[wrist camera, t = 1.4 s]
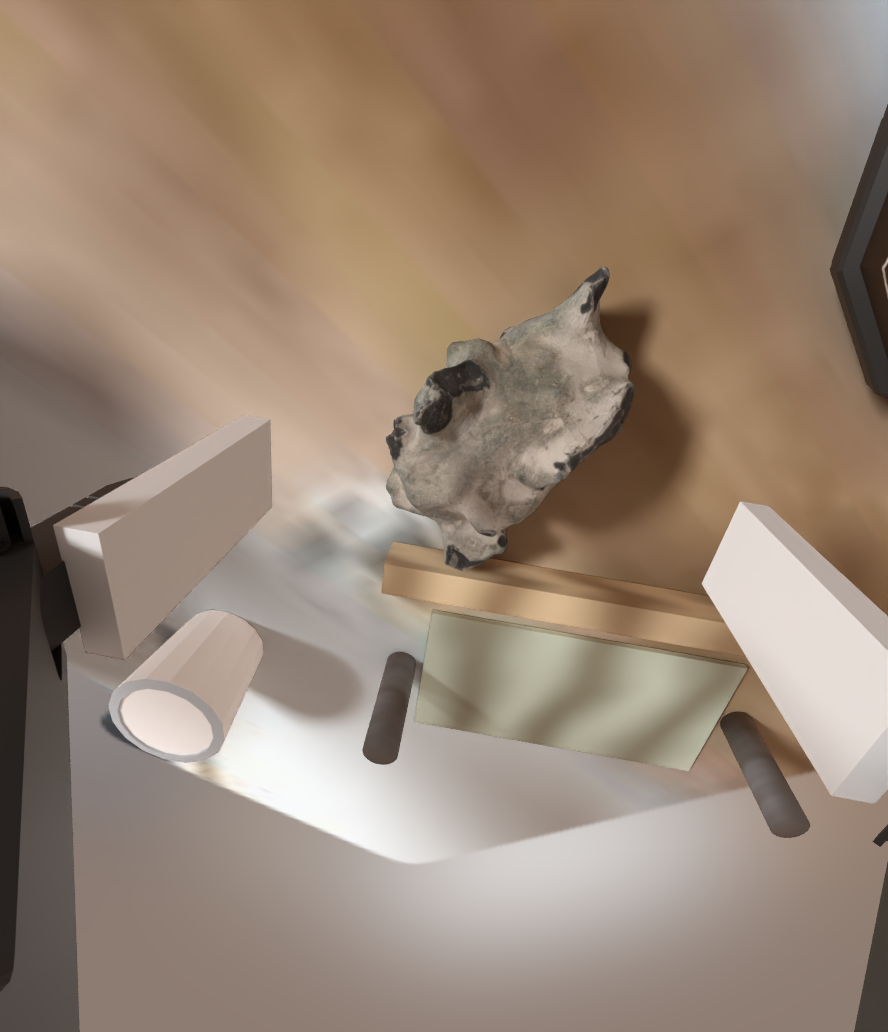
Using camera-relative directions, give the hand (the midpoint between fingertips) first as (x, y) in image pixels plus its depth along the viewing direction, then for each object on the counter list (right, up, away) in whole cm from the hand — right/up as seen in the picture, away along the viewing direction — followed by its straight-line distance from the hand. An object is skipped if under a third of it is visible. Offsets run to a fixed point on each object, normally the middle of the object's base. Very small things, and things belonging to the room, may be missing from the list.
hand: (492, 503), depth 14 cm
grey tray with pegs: (+7, -10, +19) cm, 23 cm away
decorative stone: (+1, +5, +12) cm, 13 cm away
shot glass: (-17, -9, +21) cm, 28 cm away
